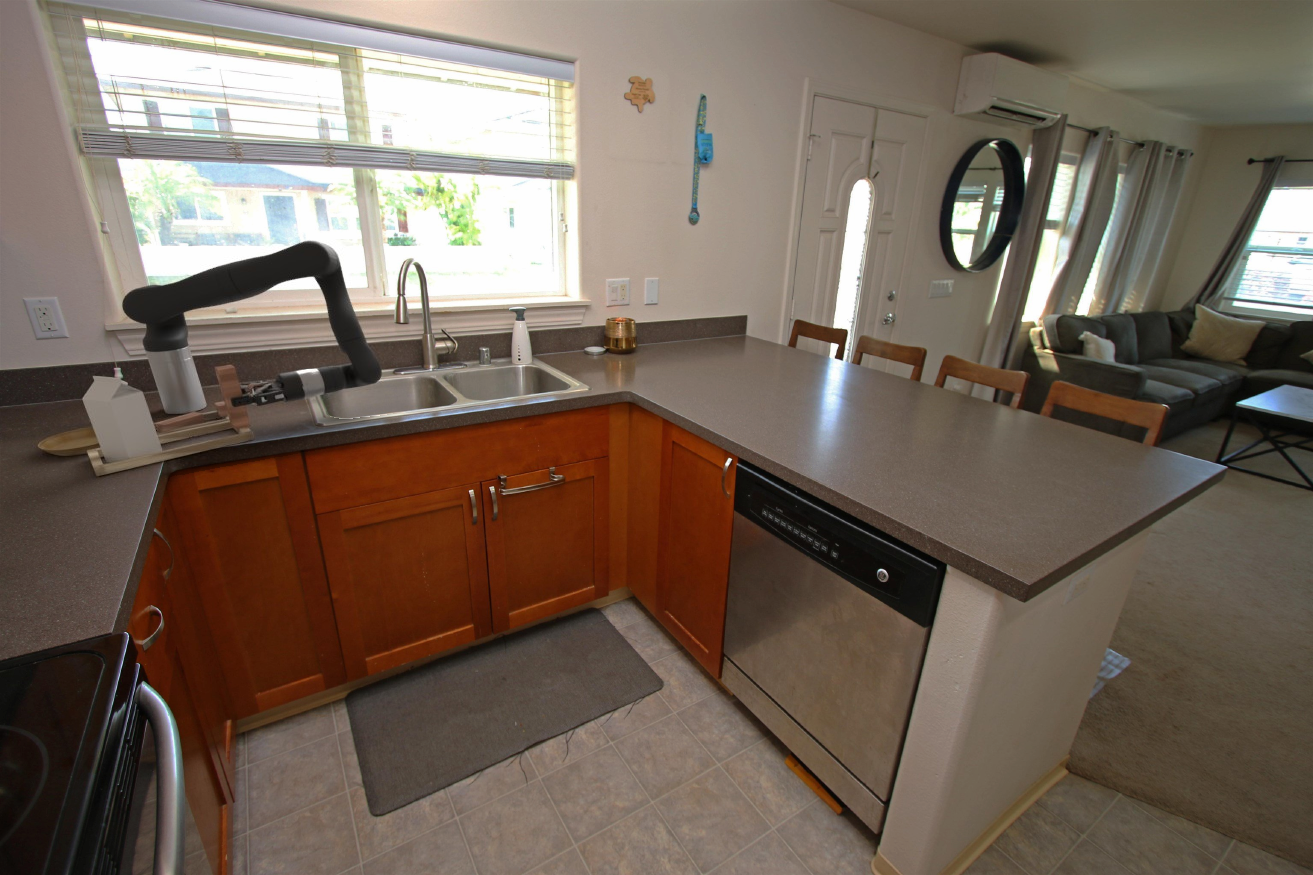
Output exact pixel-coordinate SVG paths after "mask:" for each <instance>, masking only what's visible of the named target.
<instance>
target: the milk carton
mask: <svg viewBox="0 0 1313 875" xmlns="http://www.w3.org/2000/svg"><path fill="white" fill-rule="evenodd" d="M92 379H93V382H92V383H91V385H90V387H89V388H88V390H86V393H85V394H84V396H83V397H82V401H83V402H82V403H83V405H84V407H85V410H86V413H87V415H88V417H89V421H90V423H91V426H92V427H93V429H94V431H95V434H96V436H97V439H98V442H99V444H100V447H101V450H102V452H103V455H104V456H103V457H104V460H105V462H106V464H108V463H112V462H116V461H121V460H125V459H130V458H134V457H138V456H143V455H147V454H152V453H156V452H160V451H163V448H162V444H160V442H159V439H158V436H157V433H158V432H157V431H156V430H155V427H154V424H153V423H154V421H153V419H152V415H151V412H150V409H149V406H148V403H147V401H146V398H145V395H144V393H143V391H142V390H141V389H138V388H135V387H133V386H130V385H128V384H129V383H128V382H127V381H124V380H122V378H120V377H109V376H99V375H97V376H96V375H92Z"/></svg>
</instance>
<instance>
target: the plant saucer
mask: <svg viewBox="0 0 1313 875" xmlns="http://www.w3.org/2000/svg"><path fill="white" fill-rule="evenodd" d="M37 447H38V448H39V449H41V450H42V451H44V452H46V453H48V454H52V455H54V456H58V457H69V456H70V457H71V456H79V455H80V456H81V455H83V454H84V455H85V454H88V453H87V450H91V449H96V448H101V447H100V444H99V442H98V439H97V436H96V434H95V431H94V429H93V426H92V427H84V428H79V429H74V430H73V429H72V430H70V431H69V430H68V431H65V432H62V433H59V434H55V435H53V436H49V437H47V438H45V439H43V440H41V441H39V443H38V444H37Z"/></svg>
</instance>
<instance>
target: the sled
mask: <svg viewBox="0 0 1313 875" xmlns="http://www.w3.org/2000/svg"><path fill="white" fill-rule="evenodd" d="M214 371H215V374H216V379H217V380H218V384H219V389H220V392H222V393H221V395H222V398H223V401H224V403H225V406H226V410H227V413H228V417H229V420H228V421H223V422H219V423H214V424H209V425H205V426H200V427H195V428H190V429H186V430H181V431H176V432H171V433H167V434H162V435H157V436H158V439H159V442H160V445H162V444H166V443H172V442H175V441H176V442H177V441H179V440H184V439H185V440H186V439H189V437H190V438H193V437H192V436H194V437H197V436H198V435H199V436H202V434H203V435H207V434H206V433H208V434H211V433H216V432H220V431H225V430H229V429H234V430H235V431H236V432H237V433H236V434H231V435H227V436H223V437H218V438H214V439H210V440H205V441H202V442H201V441H200V442H196V443H192V444H188V445H183V446H179V447H174V448H171V449H165V450H162V451H160V452H156V453H152V454H147V455H143V456H138V457H134V458H130V459H125V460H121V461H116V462H112V463H103V461H102V459H101V458H103V457H104V455H103V452H102V450H101V448H96V449H91V450H87V453H86V454H87V455H88V458H89V460H90V464H91V465H92V468H93V470H94V473H95V476H96V477H99V476H103V475H107V474H112V473H117V472H121V471H125V470H130V469H133V468H137V467H142V466H146V465H150V464H154V463H158V462H164V461H167V460H171V459H175V458H180V457H184V456H189V455H193V454H197V453H200V452H205V451H209V450H210V451H211V450H214V448H215V449H219V448H221V447H223V448H224V447H228V446H231V445H235V444H239V443H243V442H248V441H252V440H255V435H254V433H253V431H252V430H251V429H250V428H249V427H251V426H252V425H251V422H250V417H249V414H248V410H247V407H246V406H247V405H244V406H239V407H233V406H232V404H231V400H230V399H231V398H233V397H239V396H243V395H242V391H241V388H240V384H241V383H240V381H239V377H238V374H237V369H236V367H235V366H234V365H232V364H227V365H220V366H214Z"/></svg>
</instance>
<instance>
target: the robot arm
mask: <svg viewBox="0 0 1313 875" xmlns="http://www.w3.org/2000/svg"><path fill="white" fill-rule="evenodd" d="M305 278H313V279H315V282H316V283H317V285H318V286H319V288H320V291H321V293H322V295H323V297H324V300H325V304H326V305H325V306H326V309H327V316H328V320H329V323H330V324H329V325H330V328H331V330H332V333H333V335H334V337H335V340H336V342H337V344H338V348H339V350H340V351H341V352H342V353H343V354H345V355H346V356H347V357H348V359H349V362H350V363H346V364H340V365H327V366H322V367H316V368H304V369H298V370H292V371H287V372H286V371H285V372H280V373H277V374H275V378H274V382H269V381H268V380H267V379H262V380H257V381H256V380H255V381H249V382H243V383H239V384H240V388H241V391H242V395H243V396H239V397H233V398H231V399H230V400H231V404H232V406H233V407H239V406H244V405H245V406H247V405H248V406H249V405H256V406H258V407H261V406H265V405H269V404H275V403H280V402H284V403H286V404H287V403H291V402H292V403H293V402H296V401H301V400H306V399H311V398H314V397H318V396H321V395H326V394H330V393H337V392H339V391H341V390H345V389H348V390H349V389H354V388H362V387H365V386H370V385H374V384H376V383H377V382H379V381H380V380H381V379H382V375H383V371H382V365H381V363H380V361H379V359H378V357H377V356H376V354H375V352H374V351H373V350H372V348H371V347H370V346H369V343H368V342H367V339H366V337H365V334H364V330H363V329H362V326H361V325H360V322H359V319H358V317H357V314H356V312H355V309H354V306H353V304H352V302H351V299H350V296H349V293H348V289H347V286H346V282H345V278H344V273H343V269H342V266H341V261H340V257H339V255H338V253H337V251H336V250H335V249H334V248H333V247H332V246H330V245H327V244H326V243H323V242H320V241H317V240H304V241H301V242H299V243H296V244H293V245H291V246H288V247H286V248H283V249H281V250H278V251H276V252H273V253H270V254H266V255H261V256H255V257H251V258H245V259H242V260H238V261H232V262H228V263H225V264H221V265H218V266H214V267H212V268H209V269H206V270H203V271H201V272H199V273H195V274H193V275H191V276H188V277H186V278H183V279H180V280H179V281H178V280H177V281H174V282H172V283H167V284H162V285H161V284H149V285H145V286H142V287H138V288H134V289H132V290H130V291H129V292H127V294H125V296H124V297H123V298H122V299H123V300H122V304H121V307H122V310H123V313H124V315H126V316H127V318H128V319H130V320H131V321H132V320H133V321H134V322H136V323H139V324H143V325H145V327H146V329H145V331H146V332H145V335H144V336H143V339H142V345H143V349H144V350H145V351H144V352H145V355H146V358H147V361H148V363H149V365H150V366H149V367H150V369H151V373H152V376H153V378H154V381H155V385H156V387H157V391H158V394H159V397H160V400H161V403H162V406H163V409H164V412H165V413H166V414H168V415H182V414H189V413H192V412H198V411H199V410H203V409H205V408H206V407H207V401H206V399H205V394H204V391H203V388H202V385H201V382H200V378H199V375H198V372H197V368H196V365H195V361H194V358H193V355H192V353H191V352H192V351H191V348H190V345H189V342H188V337H189V336H188V335H189V330H188V325H187V321H186V317H185V313H186V312H190V311H193V310H199V309H204V308H211V307H216V306H222V305H227V304H231V303H235V302H239V301H242V300H246V299H250V298H253V297H256V296H259V295H262V294H263V293H265V292H267V291H268V290H271V289H272V288H274V287H276V286H278V285H279V284H282V283H285V282H289V281H295V280H298V279H305ZM220 392H221V391H220ZM221 394H222V392H221Z"/></svg>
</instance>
